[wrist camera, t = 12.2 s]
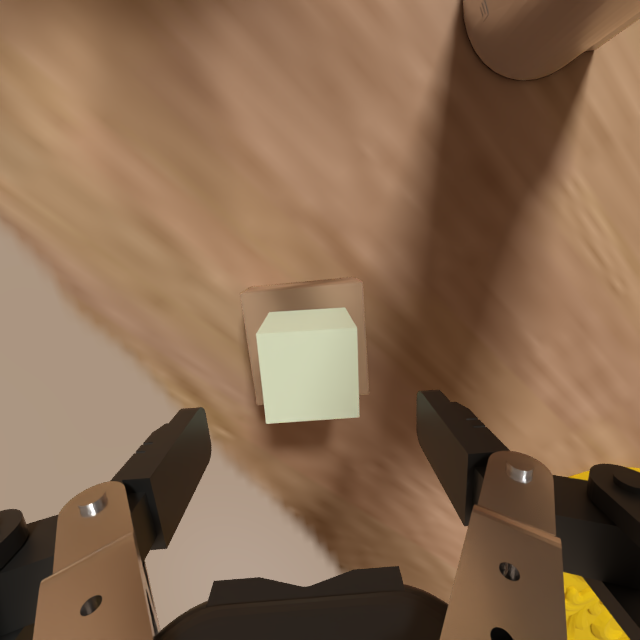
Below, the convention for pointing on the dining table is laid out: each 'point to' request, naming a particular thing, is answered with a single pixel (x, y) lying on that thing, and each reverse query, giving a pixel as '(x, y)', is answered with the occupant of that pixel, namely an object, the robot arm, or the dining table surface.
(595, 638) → the decorative medallion
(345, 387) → the sage wooden cube
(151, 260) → the dining table surface
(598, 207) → the dining table surface
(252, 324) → the tan square block
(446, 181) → the dining table surface
